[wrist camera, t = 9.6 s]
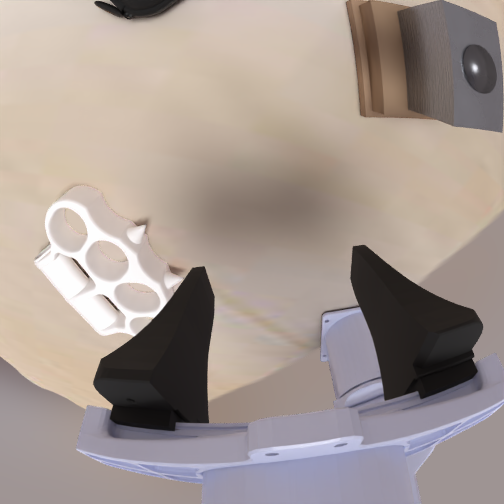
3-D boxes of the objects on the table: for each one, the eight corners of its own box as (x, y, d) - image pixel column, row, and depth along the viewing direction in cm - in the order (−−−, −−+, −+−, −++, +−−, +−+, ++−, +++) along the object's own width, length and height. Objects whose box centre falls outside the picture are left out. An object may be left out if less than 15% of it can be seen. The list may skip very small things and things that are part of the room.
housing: (448, 24, 10) (497, 22, 6) (455, 113, 14) (503, 133, 10) (396, 11, 10) (443, -1, 6) (407, 109, 14) (455, 127, 10)
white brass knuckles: (27, 226, 23) (115, 155, 19) (120, 335, 32) (217, 308, 29) (10, 244, 20) (96, 169, 17) (112, 356, 29) (215, 333, 26)
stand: (452, 119, 17) (474, 128, 14) (360, 115, 17) (377, 122, 15) (445, 21, 11) (467, 19, 9) (346, 2, 12) (361, -8, 10)
